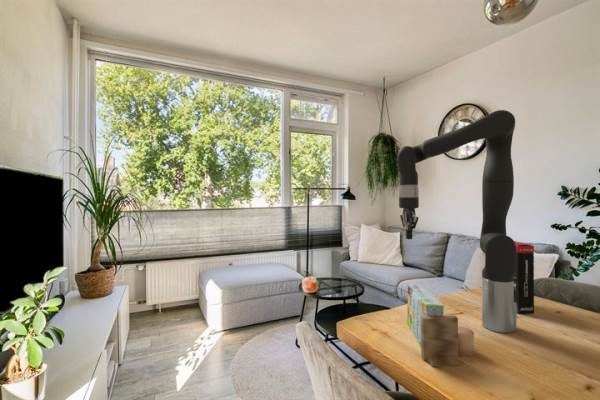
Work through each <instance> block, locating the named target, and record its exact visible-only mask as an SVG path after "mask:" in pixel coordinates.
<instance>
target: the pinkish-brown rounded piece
mask: <svg viewBox="0 0 600 400" xmlns="http://www.w3.org/2000/svg"><path fill="white" fill-rule="evenodd" d="M474 353H475V333H474V331H473V330H472V329H470V328H468V327H464V326H458V356H459V355H460V356H463V357H464V356H465V357H470V356H471V357H472V356H473V355H474Z"/></svg>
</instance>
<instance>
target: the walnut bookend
mask: <svg viewBox="0 0 600 400" xmlns="http://www.w3.org/2000/svg"><path fill="white" fill-rule="evenodd" d="M458 327H459V317H457V316H456V315H443V316H428V317H421V346H420V347H421V349H420V350H421V352H420V353H421V359H422V360H423V362H424V361H427V362H428V364H430V366H431V367H455V366H461V365H462V363H461V361H460V360H459V354H458Z"/></svg>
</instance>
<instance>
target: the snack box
mask: <svg viewBox="0 0 600 400" xmlns="http://www.w3.org/2000/svg"><path fill="white" fill-rule="evenodd" d="M428 316H444V304H443V303H441V302H440V301H439V300H438V299H437V298H436V297H435V296H434V295H433V293H431V292H430V291H429V290H428V289H427V288H426V287H425V286H424V285H423V284H422V283H421V284H419V283H408V284H407V318H406V319H407V323H406V324H407V326H408V327H409V329H410V331H411V332H412V334H413V335H414V338H415V339H416V341H417V342H418V344H419V346H420V347H421V317H428Z"/></svg>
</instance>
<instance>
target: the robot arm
mask: <svg viewBox="0 0 600 400" xmlns="http://www.w3.org/2000/svg"><path fill="white" fill-rule="evenodd" d="M515 127H516V117H515V115H514V114H513V113H512V112H511V111H508V110H505V109H499V110H494V111H493V112H491V113H489V114H487V115H485V116H483V117H481V118H480V119H477V120H476V121H473V122H472V123H469V124H467V125H465V126H462V127H459V128H457V129H455V130H451V131H449V132H446V133H443V134H440V135H438V136H435V137H431V138H429V139H426V140H424V141H423V142H422V143H421V144H418V145H416V146H409V145H406V146H402V147H401V148H400V149H399V150H398V152H397V157H396V159H397V160H396V161H397V167H398V173H399V186H398V188H399V189H398V206H399V207H398V208H400V209H403V210H402V214H400V221H401V225H402V227H403V228H404V230H405V239H407V240H413V230H415V229H416V227H417V224H418V222H419V216H416V210H415V209H418V208H419V205H420V201H419V200H420V198H419V197H420V196H419V192H420V190H419V177H418V176H419V175H418V172H417V170H416V169H417V167H416V164H418V163H421V162H423V161H425V160H427V159H430V158H434V157H437V156H440V155H443V154H446V153H449V152H451V151H454V150H456V149H458V148H460V147H462V146H465V145H468V144H469V143H470V144H471V143H473V142H476V141H479V140H484V139H485V146H486V147H485V148H486V157H485V162H484V167H483V172H482V179H481V180H482V181H481V182H482V186H481V190H482V191H481V192H482V193H481V194H482V195H481V197H482V198H481V199H482V200H481V201H482V205H481V207H482V224H481V230H480V231H481V232H480V237H479V247H480V250H481V252H483V254H485V255H484V257H485V258H484V267H483V268H482V269H481V286H482V287H481V293H482V294H481V301H482V303H481V313H482V314H481V315H482V316H481V322H482V323H481V324H482V326H483V327H484V328H485V329H487V330H489V331H493V332H496V333H501V334H510V333H513V332H514V331H517V315H518V313H517V304H516V302H514V275H515V272H516V260H517V249H516V244H515V242H514V241H515V240H514V239H513V238H512V237H510V236H509V235H507V216H508V212H509V211H510V207H511V205H512V201H513V198H514V192H515V191H514V190H515V189H514V185H515V177H514V176H515V173H514V166H513V160H512V144H513V137H514V131H515Z"/></svg>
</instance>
